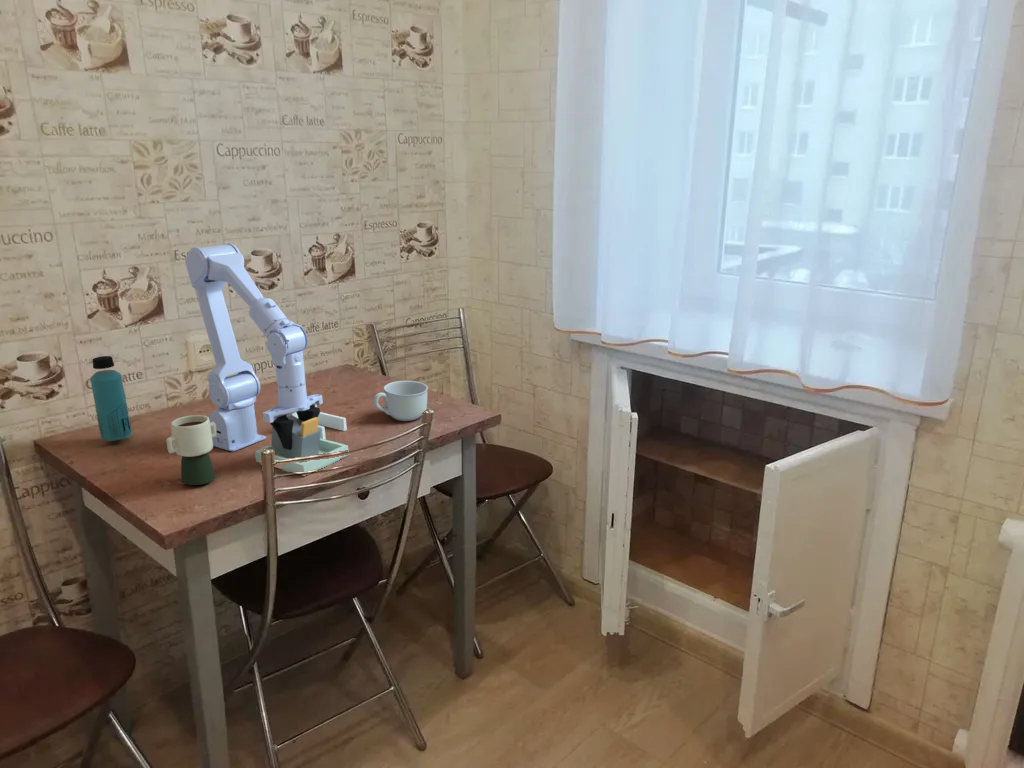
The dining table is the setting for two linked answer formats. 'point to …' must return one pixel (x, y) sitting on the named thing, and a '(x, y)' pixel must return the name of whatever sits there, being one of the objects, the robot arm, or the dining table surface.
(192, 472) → the character mug
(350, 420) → the dining table surface
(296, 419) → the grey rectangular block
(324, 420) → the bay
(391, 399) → the teacup
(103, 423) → the beverage bottle
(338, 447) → the tray
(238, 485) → the dining table surface
